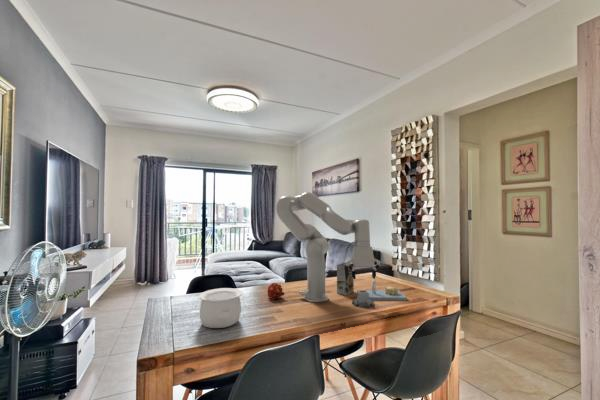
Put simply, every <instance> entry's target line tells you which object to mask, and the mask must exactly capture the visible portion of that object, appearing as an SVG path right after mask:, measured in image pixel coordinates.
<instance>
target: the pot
mask: <svg viewBox="0 0 600 400" xmlns="http://www.w3.org/2000/svg"><path fill="white" fill-rule="evenodd" d="M242 294H243V292H242V290H240V289H238V288H232V287H219V288H213V289H207V290H205V291H203V292H201V293H200V294H199V295H198V298H199V299H200V300H201V302H200V307H199V318H200V319H199V320H200V322H201V325H202V326H204V327H206V328H210V329H223V328H228V327H231V326H233V325H235V324H236V323H238V322H239V320H240V317H241V313H242V304H241V299H240V297H241V296H242Z"/></svg>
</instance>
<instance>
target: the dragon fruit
mask: <svg viewBox="0 0 600 400" xmlns="http://www.w3.org/2000/svg"><path fill="white" fill-rule="evenodd" d="M284 295H286V294H285V292H284V291H283V288H282V285H281V284H278V282H272V283H271V284H270V285H269V286H268V287H267V296H268V298H271V299H272V300H273V301H276V299H280V298H281V297H282V296H284Z"/></svg>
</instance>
